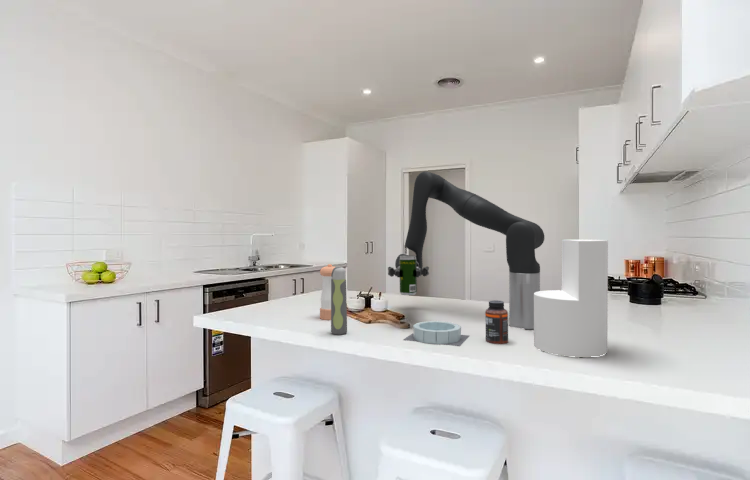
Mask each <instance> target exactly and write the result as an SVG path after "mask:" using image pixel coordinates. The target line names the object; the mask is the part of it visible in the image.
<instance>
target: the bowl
mask: <svg viewBox="0 0 750 480" xmlns="http://www.w3.org/2000/svg"><path fill="white" fill-rule="evenodd" d="M412 328H413V329H412V332H413V333H412V334H413V337H414V339H415V340H417V341H420V342H419V343H422V344H423V343H424V344H432V345H443V344H448V343H449V344H450V343H454V342H458V341H459V340H460V339H461V335H462V326H460V324H457V323H455V322H452V321H441V320H429V321H421V322H417V323H415V324H413V325H412Z"/></svg>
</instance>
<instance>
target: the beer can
mask: <svg viewBox="0 0 750 480" xmlns="http://www.w3.org/2000/svg"><path fill="white" fill-rule="evenodd" d="M399 270H400V277H399V293H400V295H402V296H415V295H416V294H417V292H418V288H417V286H418V285H417V284H418V283H417V282H418V281H417V280H418V279H417V278H418V277H417V275H416V270H417V267H416V255H414V254H413V255H411V254H410V255H409V254H406V255H405V256H400V259H399Z"/></svg>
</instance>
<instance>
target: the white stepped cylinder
mask: <svg viewBox="0 0 750 480" xmlns="http://www.w3.org/2000/svg"><path fill="white" fill-rule="evenodd" d="M608 259H609V240H607V239H561V290H560V289H557V290H556V289H555V290H554V289H553V290H552V289H551V290H550V289H549V290H540V291H538V292H535V293H534V329H533V347H534V346H535V347H536V348H537V349H536V348H535V347H534V348H535V349H536V350H538V349H540V350H542V351H546V352H549V353H553V354H558V355H565V356H575V357H591V356H600V355H603V354H605V353H607V354H608V328H609V326H608V325H609V323H608V316H609V314H608V311H609V309H608V305H609V303H608V302H609V301H608V300H609V299H608V297H609V296H608V293H609V292H608V288H609V287H608V285H609V284H608V283H609V281H608V280H609V269H608V268H609V260H608ZM540 350H539V351H540ZM542 351H541V352H542Z"/></svg>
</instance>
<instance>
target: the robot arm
mask: <svg viewBox="0 0 750 480" xmlns="http://www.w3.org/2000/svg"><path fill="white" fill-rule="evenodd" d="M412 192H413V194H412V204H411V215H410V216H411V217H410V221H409V227H408V231H407V234H406V239H405V242H404V243H405V244H404V247H405V248H406V249H408V250H409V251H411V252H413V253H414V254H415V256H416V267H417V270H416V275H417V278H420V277H422V276H423V277H427V276H429V275H430V267H429V266H424V265H423V250H424V244H425V242H426V241H425V240H426V237H427V231H428V222H427V205H428V200H429V199H434V200H437V201H438V202H442V203H443V204H445V205H448V206H449V207H450V208H451V209H453V210H454V212H456V213H457V214H458V216H460V217H462V218H464V219H465V220H467V221H469V222H470V223H472V224H475V225H477V226H479V227H482V228H486V229H488V230H492V231H494V232H496V233H497V232H498V233H500V234H501V235H504V236H505V251H506V253H505V255H506V262H507V265H508V270H509V271H508V274H509V275H508V277H509V279H508V281H509V283H508V285H509V286H508V287H509V288H508V291H509V292H508V293H509V295H508V297H509V298H508V300H509V301H508V304H509V307H508V309H509V310H508V311H509V312H508V315H509V316H508V326H510V327H513V328H516V329H517V328H518V329H524V330H534V293H535V292H538V291H541V265H540V263H539V262H538V261H537V258H536V250H537V249H538V248H540V247H541V246H542V245H543V244H544V241H545V233H544V230H543V229H542V227H541V226H540V225H539V224H538V223H535V222H532V221H530V220H528V219H524V218H522V217H519V216H517V215H515V214H512V213H510V212H508V211H506V209H504V208H501V206H498V205H496V204H495V203H493V202H491V201H489V200H487V199H486V198H484V197H483V196H480V195H478V194H476V193H473V192H471V191H469V190H465V189H462V188H461V187H460V188H459V187H458V186H456V185H454V184H452V183H451V182H449V181H448V180H447V179H445V178H444V177H442V176H441V175H439V174H436V173H433V172H430V171H426V170H425V171H422V172H420V173H418V175H417V176H416V178H415V180H414V184H413V191H412ZM405 255H407V254H405V253H400V254H399V255H398V256H397V258H396V260H395V267H392V266H389V267H387V275H388V276H389V277H394V276H395V277H396V278H400V270H399V259H400V256H405ZM423 266H424V267H423Z"/></svg>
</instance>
